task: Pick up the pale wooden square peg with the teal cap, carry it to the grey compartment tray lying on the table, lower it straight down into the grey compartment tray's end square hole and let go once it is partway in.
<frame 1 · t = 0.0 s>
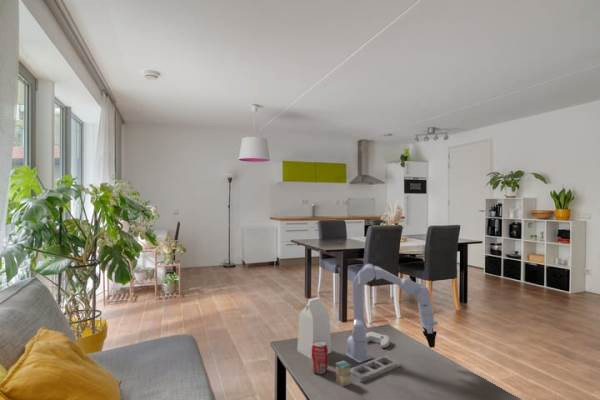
hand: (431, 343, 152), 11 cm above the table, fingers open, 7 cm apart
milk: (314, 352, 167), on the table
soda can: (319, 371, 149), on the table
grey compartment tray: (373, 370, 149), on the table
game controller: (376, 343, 177), on the table
peg: (343, 383, 139), on the table
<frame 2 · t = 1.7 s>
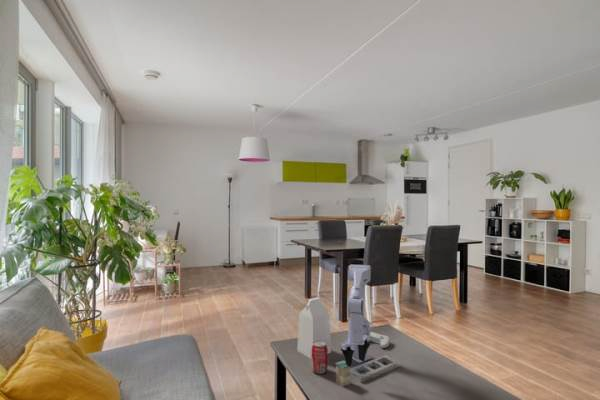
hand: (355, 362, 136), 10 cm above the table, fingers open, 7 cm apart
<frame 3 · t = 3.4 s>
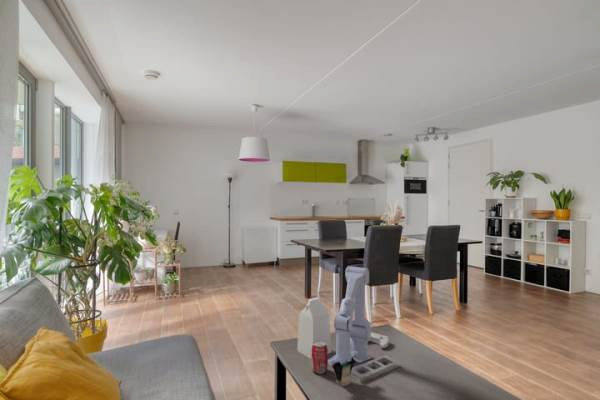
hand: (343, 378, 139), 2 cm above the table, fingers closed on peg, 4 cm apart
peg: (343, 382, 139), on the table, touching gripper
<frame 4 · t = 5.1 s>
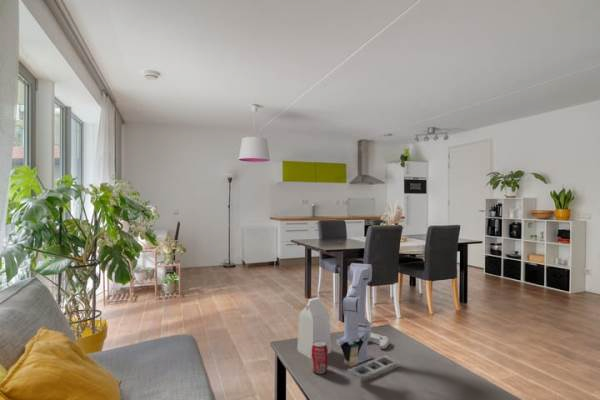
hand: (351, 358, 142), 9 cm above the table, fingers closed on peg, 4 cm apart
peg: (351, 363, 142), point 7 cm above the table, touching gripper
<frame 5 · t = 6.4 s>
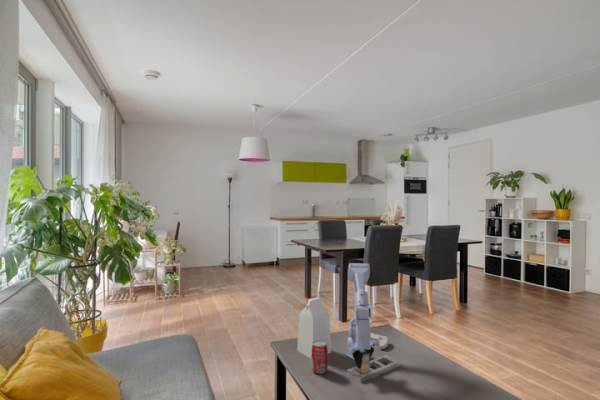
hand: (362, 365, 145), 4 cm above the table, fingers closed on peg, 4 cm apart
peg: (362, 370, 145), point 2 cm above the table, touching gripper
when the fingers open (3 cm above the table, at t = 7.1 s): peg stays where it is, resting in grey compartment tray.
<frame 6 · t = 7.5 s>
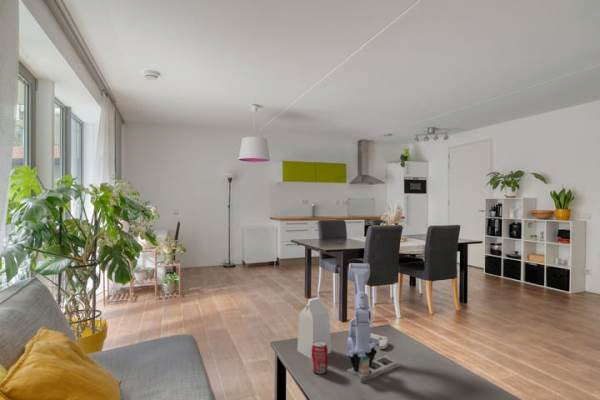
hand: (362, 368, 145), 3 cm above the table, fingers open, 7 cm apart
peg: (362, 375, 145), resting in grey compartment tray
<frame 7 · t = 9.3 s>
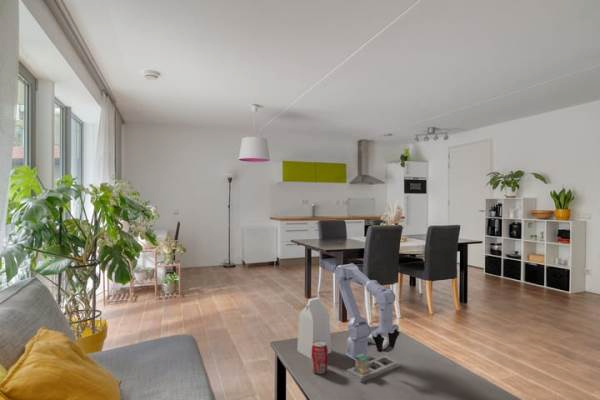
hand: (385, 349, 149), 9 cm above the table, fingers open, 7 cm apart
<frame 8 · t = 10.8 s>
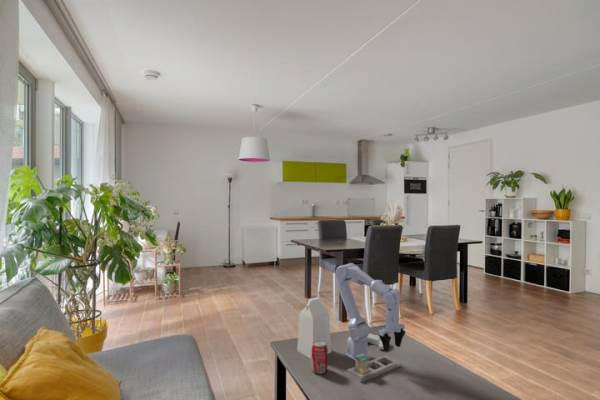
hand: (392, 348, 150), 9 cm above the table, fingers open, 7 cm apart
at the end: peg 0.0 cm from the target spot on the grey compartment tray, point 0.0 cm above the grey compartment tray's base; peg tilted 0°; the gripper is holding nothing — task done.
